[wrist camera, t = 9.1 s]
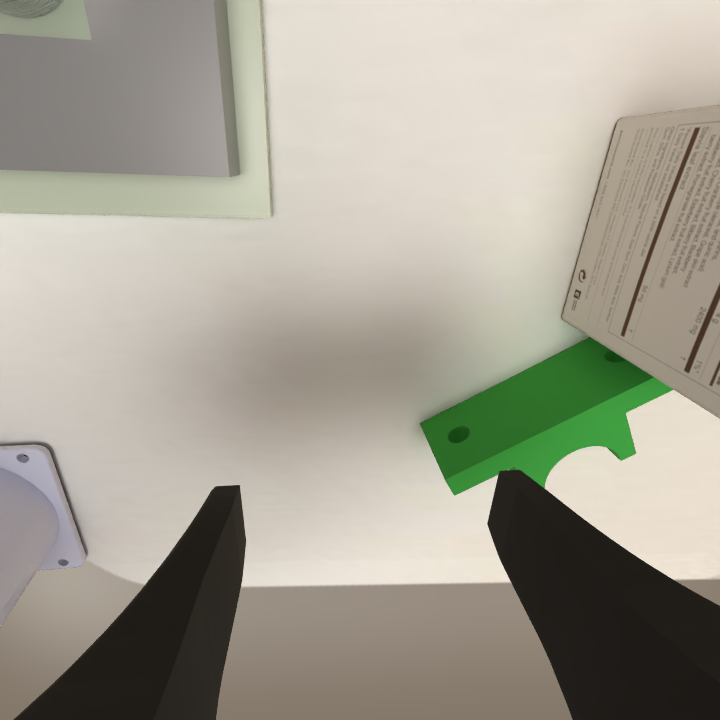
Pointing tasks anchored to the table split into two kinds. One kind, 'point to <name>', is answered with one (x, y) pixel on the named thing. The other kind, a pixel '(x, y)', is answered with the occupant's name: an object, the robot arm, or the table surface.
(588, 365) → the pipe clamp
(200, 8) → the dock
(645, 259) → the supplement box
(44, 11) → the silver metal cylinder
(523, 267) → the table surface
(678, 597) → the robot arm
